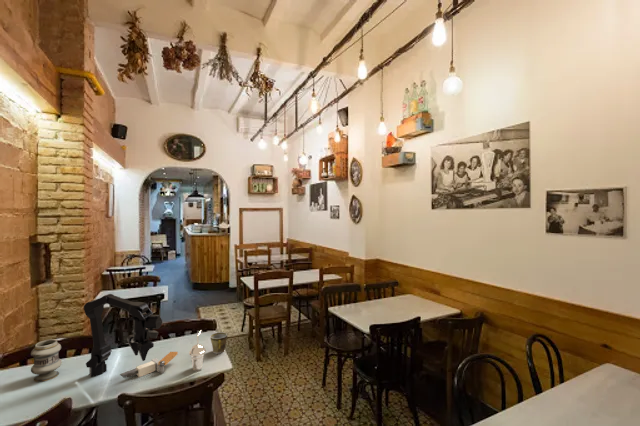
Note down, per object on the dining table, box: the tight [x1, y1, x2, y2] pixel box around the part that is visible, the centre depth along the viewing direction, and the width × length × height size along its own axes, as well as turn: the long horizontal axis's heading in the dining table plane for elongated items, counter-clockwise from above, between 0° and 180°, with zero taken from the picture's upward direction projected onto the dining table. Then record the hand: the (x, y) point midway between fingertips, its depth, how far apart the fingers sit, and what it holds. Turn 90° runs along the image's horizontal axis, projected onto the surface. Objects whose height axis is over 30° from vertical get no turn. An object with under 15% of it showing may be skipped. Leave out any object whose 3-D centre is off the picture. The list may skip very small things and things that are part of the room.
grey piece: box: [119, 357, 166, 384], centre depth 160 cm, size 16×18×5 cm
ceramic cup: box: [209, 331, 228, 355], centre depth 186 cm, size 13×10×10 cm
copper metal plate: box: [158, 351, 178, 367], centre depth 166 cm, size 4×13×2 cm, turn 177°
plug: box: [125, 360, 156, 378], centre depth 159 cm, size 13×4×4 cm, turn 141°
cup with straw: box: [188, 329, 207, 373], centre depth 166 cm, size 8×9×20 cm
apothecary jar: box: [30, 339, 63, 383], centre depth 159 cm, size 12×12×18 cm
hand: (140, 357), depth 159 cm, fingers open, 9 cm apart
